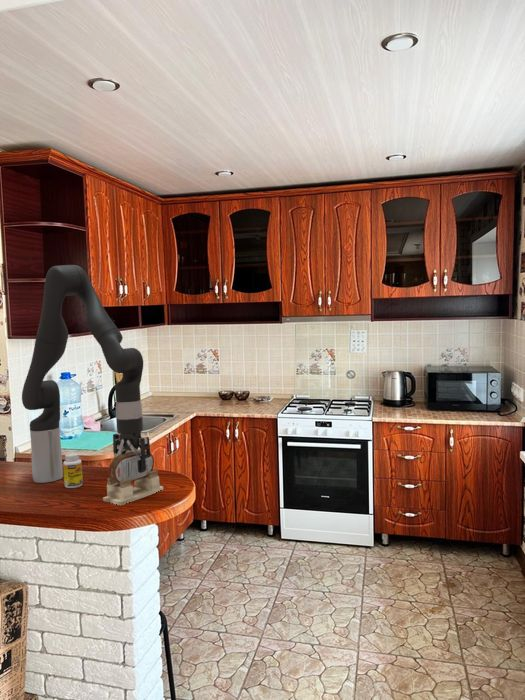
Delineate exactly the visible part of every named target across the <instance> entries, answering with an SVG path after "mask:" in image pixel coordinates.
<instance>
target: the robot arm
mask: <svg viewBox="0 0 525 700" xmlns="http://www.w3.org/2000/svg"><path fill="white" fill-rule="evenodd" d="M68 296H69V297H70V296H77V298H79V300H80V301H81V303H83V305H84V307H85V316H86V325H87V327H88V329H89V332H90V333H91V335H92V336H93V338H94V339H95V341H96V342H97V343H98V345H99V347H100V348H101V350H102V354H103V356H104V359H105V361H106V364H107V365H108V367H109V368H110V369H111V370H112V371H113V372H114V373H116V374H122V377H121V379H120V380H119V381H118V382H116V384H115V402H116V403H115V418H116V432H117V433H114V434H113V435H112V447H113V448H112V451H113V455H114V454H115V453H116V454H117V455H121V454H125V453H127V451H128V450H130V451H132V452H133V454H135V455H136V457H137V459H138V460H137V461H138V472H139V473H142V472H145V471H146V458H148V457H151V454H152V453H151V446H150V445H151V444H150V437H149V436H145V437H142V432H143V430H144V420H143V419H144V418H143V405H142V401H141V387H140V386H141V381H142V377H143V371H144V357H143V355H142V352H141V351H140V350H139V349H138V348H135V347H127V348H124V347H122V345H121V343H122V342H123V334H122V333H121V331H120V330H119V328H118V327H117V325H116V324H115V322H114V321H113V320H112V319H111V317H110V316H109V314H108V312H107V311H106V309H105V307H104V306H103V304H102V301H101V299H100V298H99V295H98V294H97V292H96V289H95V287H94V286H93V284H92V282H91V280H90V278H89V276H88V274H87V273H86V271H85V270H84V269H83V268H82V267H81V266H79V265H76V264H64V265H63V264H62V265H54V266H51V267H50V268H49V269H48V271H47V273H46V275H45V279H44V288H43V299H42V306H41V313H40V318H39V324H38V328H37V332H36V336H35V340H34V341H35V342H34V348H33V353H32V356H31V361H30V365H29V369H28V371H27V375H26V377H25V381H24V384H23V388H22V392H21V402H22V406H23V407H24V409H26V410H29V411H36V410H37V411H38V410H42V409H43V410H42V413H40V415H38V416H37V417H35V418H33V419H32V420H31V421H30V422H29V434H30V435H29V437H30V449H31V452H30V457H31V458H30V459H31V470H32V480H33V482H34V483H38V484H42V483H43V484H44V483H50V482H55V481H58V480H61V479H63V478H64V469H63V459H62V457H63V456H62V443H61V428H60V421H61V393H60V387H59V385H58V383H57V382H56V381H55V380H52V379H48V380H45V377H46V375H47V374H48V373H49V372H50V371H51V369H52V368H53V367H54V366H55V365H56V364H57V363H58V362H59V361H60V360H61V358H63V357H62V356H64V354H65V351H66V347H67V345H68V344H67V343H68V340H69V329H68V327H67V324H66V322H65V319H64V317H63V314H62V310H63V303H64V301H65V300H64V299H65V298H66V297H68ZM117 445H119V448H118V449H117ZM145 451H146V452H147V454H145ZM139 453H141V456H140V454H139Z"/></svg>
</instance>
